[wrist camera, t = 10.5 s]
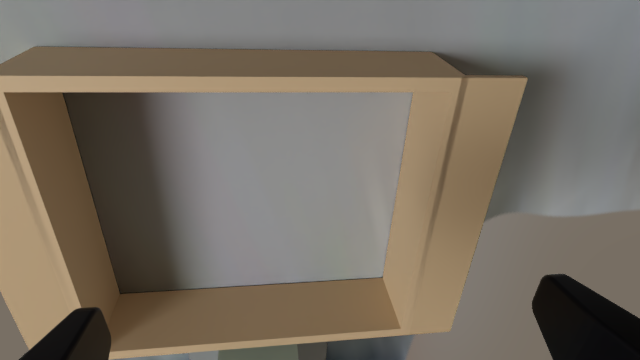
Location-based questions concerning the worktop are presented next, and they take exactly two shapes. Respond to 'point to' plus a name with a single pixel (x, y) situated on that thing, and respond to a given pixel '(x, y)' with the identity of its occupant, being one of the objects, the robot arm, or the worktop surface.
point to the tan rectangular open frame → (263, 300)
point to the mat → (308, 353)
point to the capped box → (261, 353)
